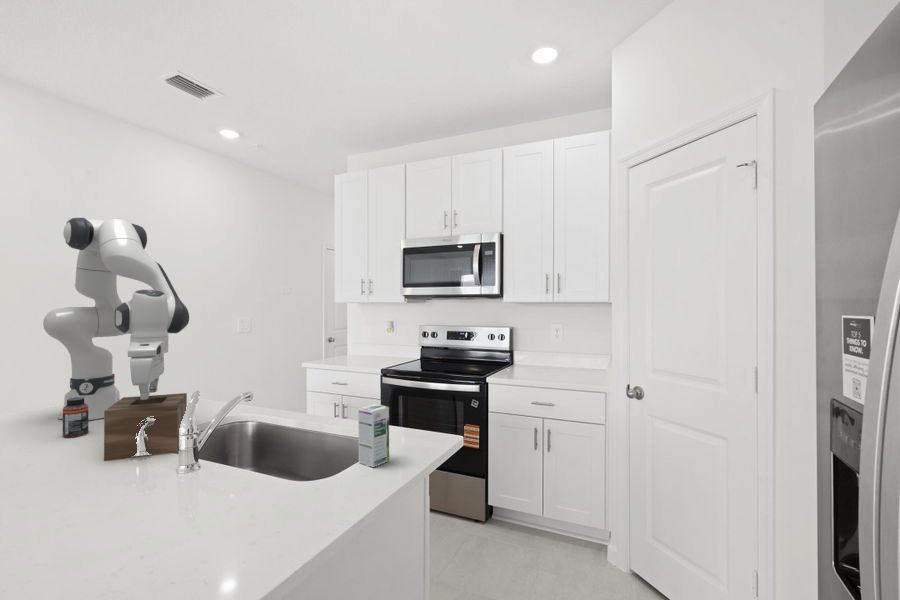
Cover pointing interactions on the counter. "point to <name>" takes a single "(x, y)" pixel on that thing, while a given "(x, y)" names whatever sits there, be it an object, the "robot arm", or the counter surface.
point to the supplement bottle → (75, 417)
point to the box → (131, 412)
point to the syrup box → (373, 434)
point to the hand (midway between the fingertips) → (149, 395)
